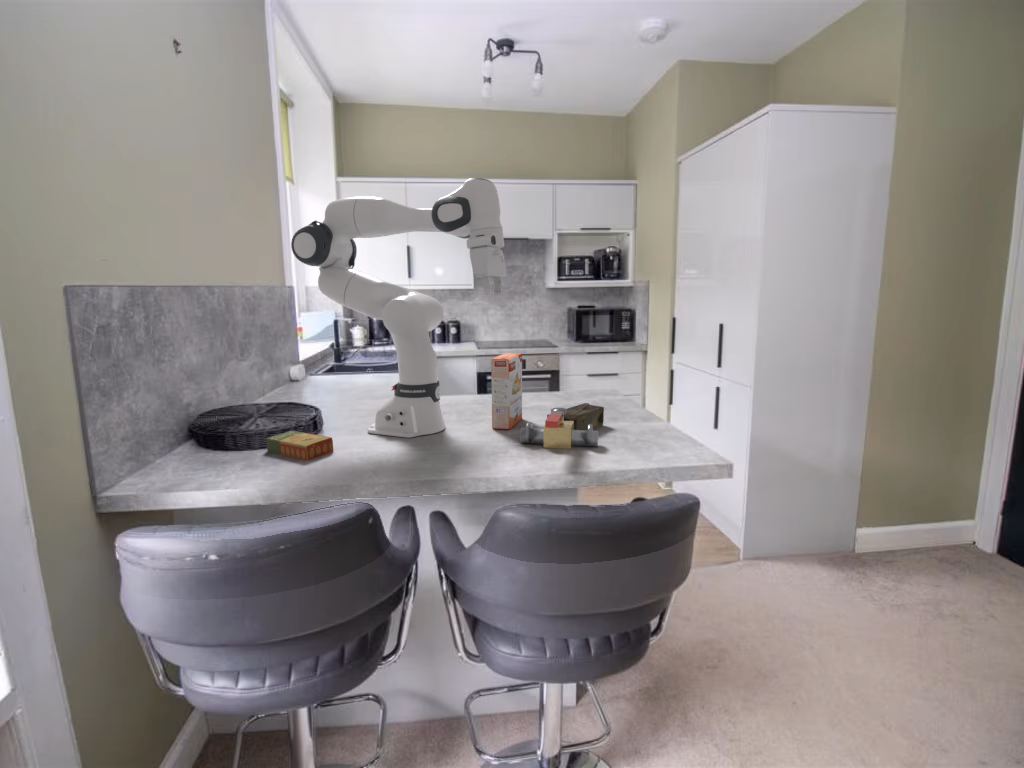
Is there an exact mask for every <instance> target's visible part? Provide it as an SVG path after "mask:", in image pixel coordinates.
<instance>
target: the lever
mask: <svg viewBox="0 0 1024 768" xmlns="http://www.w3.org/2000/svg"><path fill="white" fill-rule="evenodd" d="M550 410H551V411H550V413H549V414H548V415H549V416H548V418H547V417H546V419H545V421H544V422H545V423H544V425H545V428H558V427H559V425H560V423H561V421H562V418H563V416H566V415H567V408H566V407H553V408H551V409H550Z"/></svg>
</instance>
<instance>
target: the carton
mask: <svg viewBox="0 0 1024 768" xmlns="http://www.w3.org/2000/svg"><path fill="white" fill-rule="evenodd" d="M333 441H334V440H333V437H331V436H326V435H321V434H320V435H318V434H314V433H310V432H302V431H297V430H289V431H286V432H283V433H279V434H276V435H273V436H269V437H266V439H265V442H266V450H267V452H268V453H273V454H277V455H281V456H285V457H288V458H293V459H298V460H302V461H306V462H307V461H311V460H314V459H317V458H319V457H322V456H326V455H328V454H332V453H333V452H334V442H333Z"/></svg>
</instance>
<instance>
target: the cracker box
mask: <svg viewBox="0 0 1024 768" xmlns="http://www.w3.org/2000/svg"><path fill="white" fill-rule="evenodd" d="M490 363H491V364H490V366H491V367H490V369H491V370H490V371H491V424H492V425H491V428H492V429H496V430H506V431H508V430H509V431H510V430H511V429H512V428H514V426H515V425H517V423H519V422H520V421H521V420H522V419H523V353H519V352H504V353H503V354H499V355H497V356H495V357H492V358H491V360H490Z"/></svg>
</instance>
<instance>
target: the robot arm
mask: <svg viewBox="0 0 1024 768" xmlns="http://www.w3.org/2000/svg"><path fill="white" fill-rule="evenodd" d="M503 229H504V228H503V226H502V223H501V206H500V199H499V193H498V190H497V187H496V185H495V183H493V181H490V180H489V179H487V178H481V177H472V178H471V177H470V178H468V179H467V180H465V181H464V183H463V184H462V185H461V186H460V187H459V188H457V189H456V190H454V191H453V192H451V193H450V194H448V195H445V196H443V197H439V199H437V200H436V201H435V202H434V204H433V206H432V208H418V207H417V208H416V207H410V206H407V205H403V204H401V203H399V202H396V201H392V200H390V199H386V198H382V197H378V196H377V197H376V196H370V195H369V196H367V195H365V196H364V195H363V196H352V197H344V198H339V199H336V200H333V201H331V202H329V203H328V205H327V206H326V208H325V211H324V220H323V221H321V220H317V219H315V220H314V221H312V222H311V223H309V224H308V225H305V226H304V227H302V228H299V229H298V230H297V231H296V232H295V233H294V234H293V236H292V239H291V241H290V242H291V243H290V246H291V251H292V254H293V255H294V257H295V258H296V259H297V260H298V261H299V262H301V263H302V264H305V265H307V266H310V267H318V270H319V275H318V280H317V284H318V285H317V286H318V289H319V290H320V293H322V294H323V295H324V296H325V297H327V298H329V299H330V300H331V301H334V302H336V303H337V304H339V305H341V306H343V307H345V308H347V309H350V310H353V312H357V313H359V314H361V315H365V316H366V317H369V318H371V319H375V320H380V321H382V323H383V326H384V327H385V329H386V330H388V332H389V334H390V335H391V339H392V342H393V346H394V348H395V351H396V352H395V353H396V358H397V370H398V382H397V383H395V384H393V386H390V387H391V391H393V395H392V396H391V397H390V398H389V399H388V400H387V401H386V402H384V403H383V404H382V405H381V406H379V408H378V409H377V410H376V413H375V418H374V419H375V422H373V423H372V424H371V425H369V426H368V428H367V433H368V434H375V435H383V436H390V437H391V436H392V437H399V438H400V437H401V438H408V439H409V438H414V437H415V438H416V437H418V436H425V435H432V434H436V433H439V432H442V431H443V430H444V431H445V429H446V424H445V420H444V417H443V413H442V409H441V402H440V400H441V386H440V385H441V384H440V381H439V379H438V377H439V376H438V374H439V373H438V355H437V353H436V351H435V350H434V348H433V344H432V342H431V341H432V340H431V337H430V332H431V331H433V330H435V329H436V328H438V326H440V324H441V323H442V321H443V318H444V316H445V314H444V313H445V312H444V307H443V305H442V303H441V302H440V301H439V300H437V299H436V298H435V297H433V296H430V295H429V294H424V293H422V292H419V291H417V290H413V289H410V288H407V287H404V286H400V285H397V284H394V283H391V282H387V281H384V280H382V279H380V278H377V277H375V276H371V275H369V274H367V273H364V272H361V271H360V270H357V269H354V267H355V261H356V258H357V245H356V242H355V240H354V239H359V238H360V239H369V238H371V239H373V238H383V237H388V236H394V235H400V234H406V233H411V232H435V233H436V232H437V233H438V232H440V233H445V234H447V235H452V236H454V237H455V236H456V237H458V238H459V239H460V238H461V239H464V240H465V239H466V248H467V249H469V258H470V262H471V263H470V264H471V268H472V272H473V274H474V276H475V278H480V280H481V281H480V282H481V284H482V288H483V292H484V295H486V296H490V295H493V293H494V294H495V295H501V294H503V291H502V287H503V286H502V285H503V278H506V277H507V267H506V260H505V256H504V252H503V250H501V249H502V248H504V247H505V239H504V238H505V237H504V231H503ZM491 278H492V280H493V284H494V288H493V287H492V284H491Z"/></svg>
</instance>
